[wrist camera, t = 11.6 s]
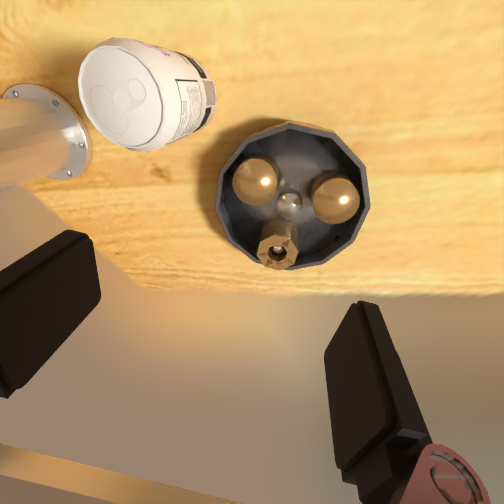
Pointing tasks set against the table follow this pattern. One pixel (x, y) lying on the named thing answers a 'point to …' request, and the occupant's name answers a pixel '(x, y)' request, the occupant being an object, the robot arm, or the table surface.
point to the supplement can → (145, 93)
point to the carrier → (293, 191)
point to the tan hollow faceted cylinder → (282, 236)
